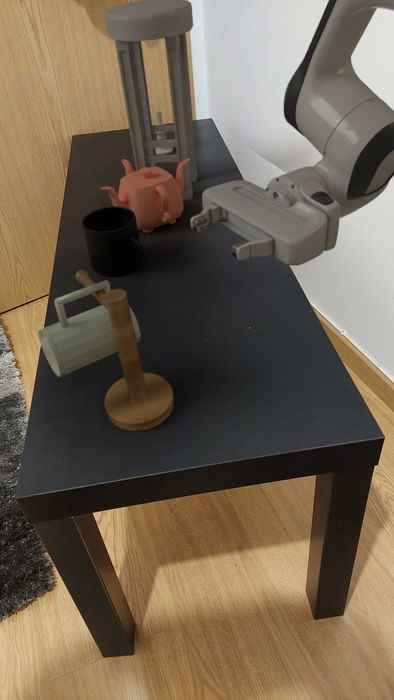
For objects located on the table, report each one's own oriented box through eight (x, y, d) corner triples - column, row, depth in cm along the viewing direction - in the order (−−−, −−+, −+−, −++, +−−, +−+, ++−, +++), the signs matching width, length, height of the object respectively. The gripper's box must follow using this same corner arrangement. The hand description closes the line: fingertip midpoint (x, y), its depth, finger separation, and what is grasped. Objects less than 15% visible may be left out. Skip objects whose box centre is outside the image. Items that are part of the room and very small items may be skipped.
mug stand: (186, 408, 67) (171, 298, 55) (126, 442, 63) (96, 332, 51) (129, 345, 77) (106, 240, 65) (75, 372, 73) (39, 266, 61)
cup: (45, 359, 66) (120, 327, 70) (64, 386, 62) (142, 351, 66) (25, 294, 59) (109, 264, 64) (44, 320, 55) (133, 286, 60)
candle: (152, 149, 135) (146, 107, 128) (171, 146, 135) (166, 104, 128) (154, 156, 131) (148, 114, 124) (174, 153, 131) (169, 111, 124)
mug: (128, 287, 88) (119, 241, 82) (81, 267, 94) (70, 223, 88) (163, 262, 93) (157, 217, 87) (117, 244, 99) (108, 201, 93)
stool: (199, 203, 109) (184, 10, 86) (129, 205, 112) (96, 17, 88) (207, 173, 121) (195, -5, 97) (143, 175, 123) (116, 1, 99)
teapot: (109, 237, 102) (98, 185, 94) (130, 204, 112) (121, 154, 104) (180, 239, 99) (174, 186, 91) (194, 205, 109) (190, 154, 102)
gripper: (247, 162, 76) (169, 190, 71) (349, 209, 63) (263, 248, 58) (247, 201, 81) (174, 230, 75) (343, 253, 67) (262, 293, 62)
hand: (213, 238), depth 67 cm, fingers open, 8 cm apart
